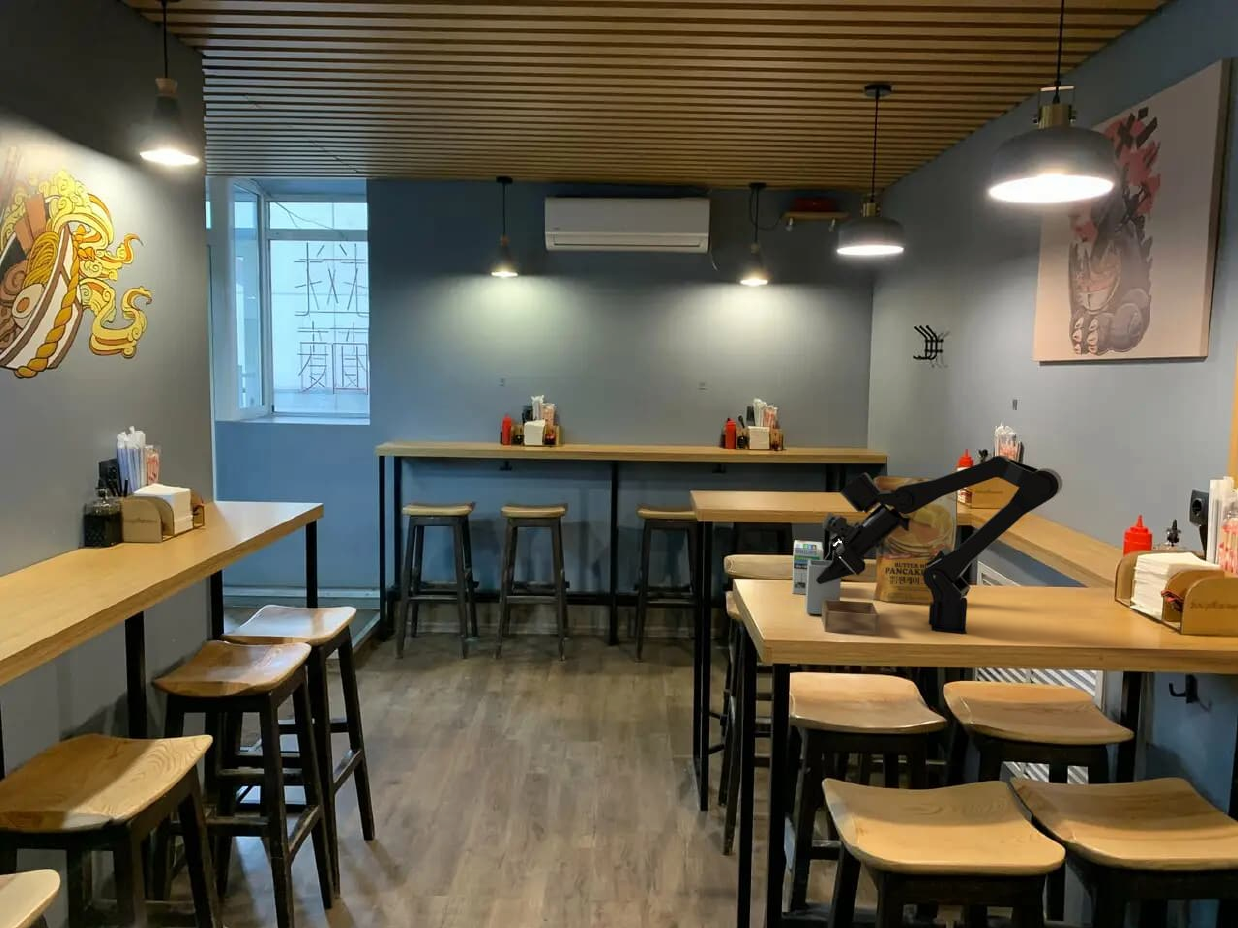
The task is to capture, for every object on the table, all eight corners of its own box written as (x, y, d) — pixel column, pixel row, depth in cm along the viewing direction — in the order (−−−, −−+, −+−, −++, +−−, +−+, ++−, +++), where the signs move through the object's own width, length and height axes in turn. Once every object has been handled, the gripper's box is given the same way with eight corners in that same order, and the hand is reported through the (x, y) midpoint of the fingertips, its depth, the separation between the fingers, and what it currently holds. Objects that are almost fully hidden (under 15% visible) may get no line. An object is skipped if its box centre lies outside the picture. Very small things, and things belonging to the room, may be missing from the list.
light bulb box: (821, 596, 203) (824, 549, 202) (791, 594, 205) (793, 547, 204) (820, 586, 214) (823, 541, 213) (792, 583, 215) (794, 539, 214)
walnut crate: (871, 621, 183) (872, 602, 182) (877, 635, 173) (878, 615, 172) (821, 618, 184) (822, 599, 184) (824, 631, 174) (825, 611, 174)
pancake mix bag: (863, 594, 206) (870, 473, 203) (949, 599, 204) (957, 477, 201) (868, 602, 199) (876, 477, 197) (957, 607, 197) (966, 480, 195)
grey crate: (836, 607, 191) (838, 561, 190) (839, 615, 185) (841, 567, 184) (805, 605, 192) (807, 559, 191) (806, 612, 186) (809, 565, 185)
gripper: (843, 495, 195) (789, 542, 198) (851, 507, 177) (791, 558, 179) (878, 533, 195) (823, 579, 197) (890, 548, 176) (829, 600, 179)
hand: (816, 578), depth 188 cm, fingers closed on grey crate, 6 cm apart
